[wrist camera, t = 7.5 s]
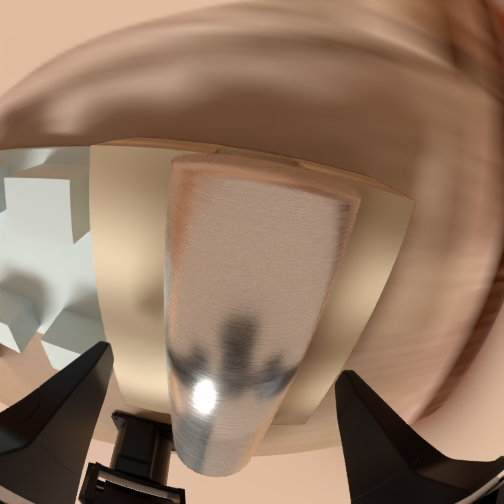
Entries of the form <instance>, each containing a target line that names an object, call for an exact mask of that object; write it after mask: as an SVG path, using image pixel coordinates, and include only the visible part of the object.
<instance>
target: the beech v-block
mask: <svg viewBox="0 0 504 504" xmlns="http://www.w3.org/2000/svg"><path fill="white" fill-rule="evenodd" d="M186 154H223V155H234V156H243V157H250V158H256V159H262V160H267V161H272V162H277V163H282V164H286V165H290V166H294V167H298V168H301V169H305V170H308V171H312V172H315V173H318V174H321V175H324V176H326V177H329V178H332V179H334V180H337V181H339V182H341V183H343V184H345V185H347V186H349V187H351V188H353V189H354V190H356V191H357V192H358V193H360V195H361V196H362V199H361V202H360V206H359V209H358V213H357V216H356V219H355V222H354V226H353V229H352V232H351V235H350V238H349V241H348V244H347V247H346V250H345V253H344V256H343V259H342V262H341V265H340V268H339V271H338V273H337V276H336V279H335V282H334V284H333V287H332V290H331V292H330V295H329V297H328V300H327V303H326V305H325V308H324V310H323V313H322V315H321V318H320V320H319V323H318V325H317V327H316V330H315V332H314V335H313V337H312V339H311V341H310V344H309V346H308V348H307V351H306V353H305V355H304V357H303V360H302V362H301V364H300V366H299V368H298V370H297V372H296V375H295V377H294V379H293V381H292V383H291V385H290V387H289V389H288V391H287V393H286V395H285V397H284V399H283V401H282V403H281V405H280V407H279V409H278V411H277V413H276V415H275V417H274V418H273V420H272V422H271V424H305V423H306V422H307V421H308V419H309V418H310V416H311V415H312V414H313V412H314V411H315V409H316V408H317V406H318V405H319V403H320V402H321V401H322V399H323V398H324V396H325V394H326V393H327V391H328V390H329V388H330V387H331V385H332V384H333V382H334V380H335V379H336V377H337V376H338V374H339V372H340V371H341V369H342V367H343V366H344V364H345V362H346V361H347V359H348V357H349V355H350V354H351V352H352V350H353V348H354V346H355V345H356V343H357V341H358V339H359V337H360V335H361V334H362V332H363V330H364V328H365V326H366V324H367V322H368V320H369V318H370V316H371V314H372V312H373V310H374V308H375V306H376V304H377V302H378V299H379V297H380V295H381V293H382V291H383V289H384V286H385V284H386V282H387V280H388V277H389V275H390V273H391V270H392V268H393V265H394V263H395V260H396V258H397V255H398V253H399V250H400V248H401V245H402V242H403V240H404V237H405V234H406V231H407V229H408V226H409V223H410V220H411V217H412V214H413V211H414V208H415V205H416V201H415V200H414V199H412V198H410V197H408V196H406V195H404V194H403V193H401V192H399V191H397V190H395V189H393V188H391V187H389V186H387V185H385V184H383V183H381V182H379V181H377V180H375V179H373V178H371V177H368V176H364V175H361V174H357V173H354V172H350V171H347V170H343V169H339V168H335V167H331V166H327V165H323V164H319V163H315V162H311V161H306V160H302V159H297V158H292V157H288V156H283V155H278V154H273V153H267V152H262V151H256V150H250V149H244V148H238V147H231V146H224V145H217V144H209V143H201V142H192V141H183V140H172V139H160V138H144V137H132V138H126V139H120V140H115V141H109V142H104V143H99V144H94V145H91V147H90V167H89V211H90V231H91V245H92V256H93V265H94V273H95V281H96V287H97V294H98V300H99V306H100V311H101V316H102V322H103V326H104V331H105V335H106V340H107V342H109V343H110V344H111V347H112V351H113V355H114V363H113V367H114V371H115V374H116V378H117V381H118V384H119V387H120V390H121V394H122V397H123V400H124V402H125V404H127V405H131V406H135V407H139V408H143V409H147V410H152V411H157V412H161V413H167V414H170V405H169V395H168V383H167V370H166V353H165V330H164V257H165V233H166V216H167V202H168V190H169V180H170V170H171V161H172V159H173V158H174V157H176V156H180V155H186Z"/></svg>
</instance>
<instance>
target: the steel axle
mask: <svg viewBox="0 0 504 504" xmlns="http://www.w3.org/2000/svg"><path fill="white" fill-rule="evenodd" d="M361 199H362V196H361V195H360V193H358V192H357V191H356V190H354V189H353V188H351V187H349V186H347V185H345V184H343V183H341V182H339V181H337V180H334V179H332V178H329V177H326V176H324V175H321V174H318V173H315V172H312V171H308V170H305V169H301V168H298V167H294V166H290V165H286V164H282V163H277V162H272V161H267V160H262V159H256V158H250V157H243V156H234V155H223V154H186V155H180V156H176V157H174V158H173V159H172V161H171V170H170V180H169V190H168V202H167V216H166V233H165V257H164V330H165V353H166V370H167V383H168V395H169V405H170V414H171V422H172V430H173V438H174V445H175V449H176V452H177V455H178V457H179V458H180V460H181V461H182V462H183V463H184V464H185V465H186V466H187V467H188V468H190V469H191V470H193V471H195V472H197V473H199V474H202V475H205V476H210V477H224V476H229V475H232V474H234V473H236V472H238V471H240V470H241V469H243V468H244V467H245V466H246V465H247V464H248V462H249V461H250V459H251V458H252V456H253V454H254V453H255V451H256V449H257V447H258V446H259V444H260V442H261V440H262V439H263V437H264V435H265V433H266V431H267V430H268V428H269V426H270V424H271V422H272V420H273V418H274V417H275V415H276V413H277V411H278V409H279V407H280V405H281V403H282V401H283V399H284V397H285V395H286V393H287V391H288V389H289V387H290V385H291V383H292V381H293V379H294V377H295V375H296V372H297V370H298V368H299V366H300V364H301V362H302V360H303V357H304V355H305V353H306V351H307V348H308V346H309V344H310V341H311V339H312V337H313V335H314V332H315V330H316V327H317V325H318V323H319V320H320V318H321V315H322V313H323V310H324V308H325V305H326V303H327V300H328V297H329V295H330V292H331V290H332V287H333V284H334V282H335V279H336V276H337V273H338V271H339V268H340V265H341V262H342V259H343V256H344V253H345V250H346V247H347V244H348V241H349V238H350V235H351V232H352V229H353V226H354V222H355V219H356V216H357V213H358V209H359V206H360V202H361Z"/></svg>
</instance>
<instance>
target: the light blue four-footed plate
mask: <svg viewBox="0 0 504 504" xmlns="http://www.w3.org/2000/svg"><path fill="white" fill-rule="evenodd" d="M90 147H91V146H53V147H31V148H17V149H6V150H0V343H1V344H3V345H5V346H7V347H9V348H11V349H13V350H15V351H17V352H19V353H22V351H23V350H24V348H25V347H26V345H27V344H28V343H29V341H30V340H31V338H32V337H33V335H34V334H35V333H36V331H37V332H40V333H42V334H44V335H43V337H42V338H41V342H42V345H43V347H44V349H45V352H46V354H47V356H48V358H49V361H50V363H51V365H52V367H53V368H55V369H57V370H62V369H63V368H64V367H66V366H67V365H68V364H70V363H71V362H72V361H74V360H75V359H76V358H77V357H79V356H80V355H81V354H83V353H84V352H86V351H87V350H88V349H90V348H91V347H92V346H94V345H95V344H96V343H98V342H99V341H105V342H107V340H106V335H105V331H104V326H103V322H102V316H101V311H100V306H99V300H98V294H97V287H96V281H95V273H94V265H93V256H92V245H91V231H90V211H89V167H90ZM113 370H114V367H112V371H111V375H112V372H113ZM111 375H110V377H111ZM109 380H110V379H109Z"/></svg>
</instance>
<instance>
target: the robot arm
mask: <svg viewBox="0 0 504 504" xmlns="http://www.w3.org/2000/svg"><path fill="white" fill-rule="evenodd" d="M113 363H114V355H113V351H112V347H111V344H110V343H109V342H105V341H99V342H98V343H96V344H95V345H94V346H92V347H91V348H90V349H88V350H87V351H86V352H84V353H83V354H81V355H80V356H79V357H77V358H76V359H75V360H74V361H72V362H71V363H70V364H68V365H67V366H66V367H64V368H63V369H62V370H60V371H59V372H58V373H56V374H55V375H54V376H52V377H51V378H50V379H48V380H47V381H46V382H45V383H43V384H42V385H41V386H39V388H37V389H35V390H34V391H33V392H31V393H30V394H29V395H27V396H26V397H25V398H23V399H22V400H20V401H18V402H17V403H15V404H14V405H12V406H10V407H9V408H7V409H6V410H4V411H2V412H0V504H75V500H76V496H77V491H78V487H79V483H80V478H81V474H82V470H83V466H84V463H85V459H86V456H87V452H88V449H89V445H90V441H91V438H92V435H93V432H94V429H95V426H96V423H97V419H98V416H99V413H100V410H101V408H102V405H103V402H104V399H105V396H106V392H107V388H108V384H109V379H110V375H111V371H112V367H113ZM335 396H336V409H337V420H338V425H339V431H340V436H341V442H342V447H343V453H344V458H345V465H346V472H347V478H348V484H349V491H350V498H351V504H504V475H503V476H502V477H500V478H498V474H499V473H500V472H502V471H503V470H504V456H500V457H499V458H498V459H496V460H495V461H490V462H482V461H466V460H456V459H451V458H449V457H447V456H445V455H444V454H442V453H441V452H440V451H438V450H437V449H436V448H434V447H433V446H432V445H431V444H429V443H428V442H427V441H426V440H424V439H423V438H422V437H421V436H420V435H418V434H417V433H416V432H415V431H414V430H413V429H412V428H411V427H410V426H409V425H408V424H406V422H405V421H404V420H403V419H402V418H401V417H400V416H399V415H398V414H397V413H396V412H395V411H394V410H393V409H392V408H391V407H390V406H389V405H388V404H387V403H386V402H385V401H384V400H383V399H382V398H381V397H380V396H379V395H378V394H377V393H376V392H375V391H374V390H373V389H372V388H371V387H370V386H369V385H368V384H367V383H366V382H365V381H364V380H363V379H362V378H361V377H360V376H359V375H358V374H357V373H356V372H354V371H353V370H344V371H342V373H341V374H340V376H339V378H338V379H337V381H336V383H335ZM111 417H112V419H113V421H114V423H115V425H116V427H117V429H118V431H119V432H118V435H117V439H116V443H115V447H114V451H113V454H112V458H111V463H110V467H109V468H108V467H105V466H103V465H101V464H100V463H98V462H96V463H95V464H94V463H90V462H89V464H88V468H87V471H86V475H85V478H84V482H83V485H82V487H81V491H80V494H79V498H78V500H79V501H80V502H81V504H186V502H185V489H181V488H173V487H169V486H167V478H168V470H169V463H170V455H171V451H176V449H175V445H174V438H173V430H172V426H169V425H163V424H158V423H154V422H149V421H145V420H140V419H136V418H132V417H129V416H125V415H121V414H118V413H112V416H111ZM99 477H102V478H104V479H107V480H109V481H107V480H106V481H105V482H103V481H101V480H98V478H99ZM110 481H112V482H110ZM113 482H115V483H113ZM116 483H117V484H116ZM119 484H121V485H123V486H121V485H119ZM124 486H126V487H124ZM127 487H130V488H127ZM131 488H133V489H131ZM134 489H136V490H134ZM137 490H139V491H137ZM140 491H143V492H140ZM144 492H146V493H144ZM148 493H150V494H148ZM151 494H154V495H151ZM155 495H158V496H155ZM159 496H162V497H159ZM163 497H166V498H163Z"/></svg>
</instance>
